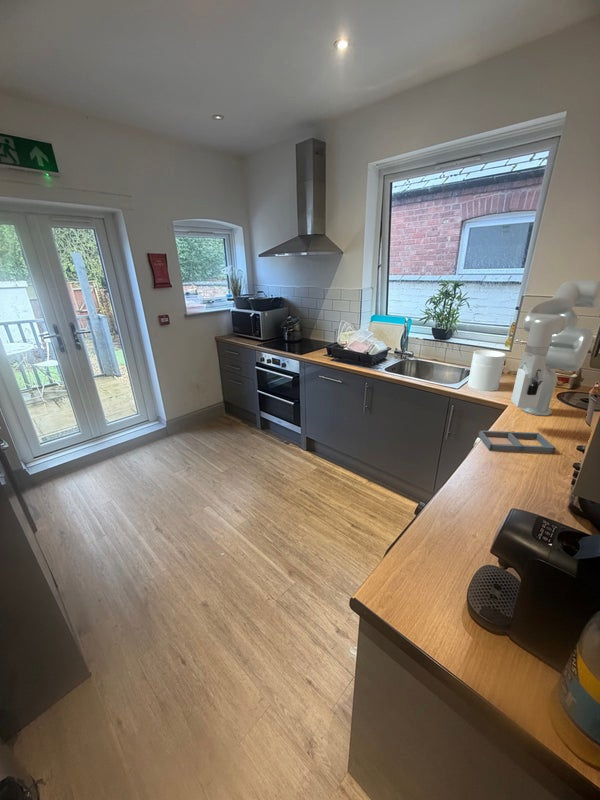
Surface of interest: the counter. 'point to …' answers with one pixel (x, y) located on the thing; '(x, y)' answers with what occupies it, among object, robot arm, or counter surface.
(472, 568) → the counter surface
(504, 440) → the frame
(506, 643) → the counter surface
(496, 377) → the canister
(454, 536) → the counter surface
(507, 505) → the counter surface
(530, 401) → the milk carton
